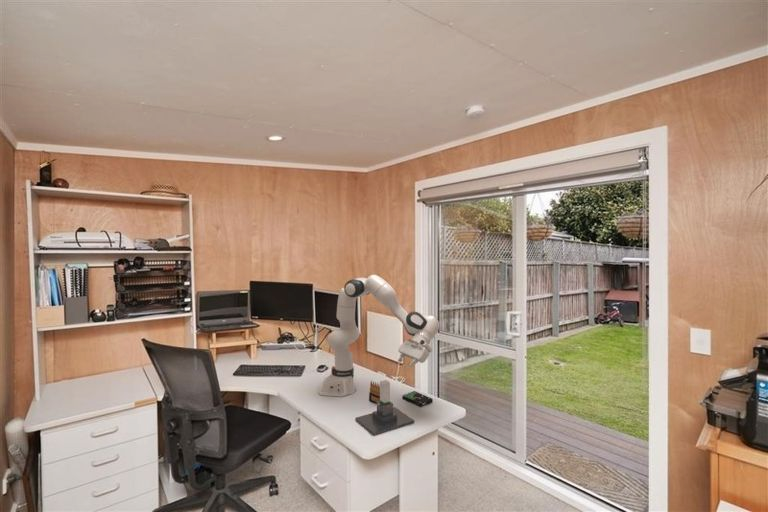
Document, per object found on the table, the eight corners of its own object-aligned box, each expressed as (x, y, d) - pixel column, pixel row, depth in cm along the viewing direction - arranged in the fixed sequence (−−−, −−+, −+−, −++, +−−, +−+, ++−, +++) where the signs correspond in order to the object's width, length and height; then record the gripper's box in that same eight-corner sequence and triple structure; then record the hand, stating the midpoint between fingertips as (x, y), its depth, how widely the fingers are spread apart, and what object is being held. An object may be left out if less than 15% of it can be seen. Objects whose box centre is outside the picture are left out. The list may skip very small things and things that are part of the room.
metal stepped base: (373, 436, 176) (373, 414, 175) (355, 420, 191) (355, 401, 190) (414, 423, 188) (414, 403, 188) (394, 409, 204) (394, 391, 203)
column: (383, 412, 187) (383, 383, 186) (379, 409, 190) (379, 381, 190) (389, 410, 189) (390, 382, 188) (385, 407, 192) (386, 379, 191)
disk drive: (433, 403, 214) (414, 395, 225) (433, 398, 213) (414, 390, 224) (420, 408, 207) (401, 399, 218) (420, 403, 206) (401, 395, 217)
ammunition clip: (368, 401, 215) (369, 380, 214) (371, 400, 216) (371, 379, 215) (382, 406, 207) (382, 385, 207) (384, 405, 209) (384, 384, 208)
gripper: (404, 335, 207) (389, 355, 203) (428, 343, 190) (412, 365, 185) (411, 342, 210) (396, 362, 205) (434, 350, 193) (419, 373, 188)
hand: (404, 364), depth 195 cm, fingers open, 8 cm apart
